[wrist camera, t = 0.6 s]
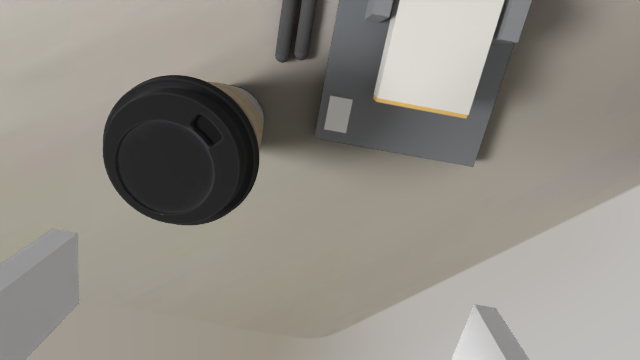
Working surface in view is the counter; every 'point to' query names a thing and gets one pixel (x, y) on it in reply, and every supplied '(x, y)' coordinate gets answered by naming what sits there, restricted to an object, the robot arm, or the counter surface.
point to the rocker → (436, 54)
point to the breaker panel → (396, 121)
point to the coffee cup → (183, 148)
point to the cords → (302, 31)
